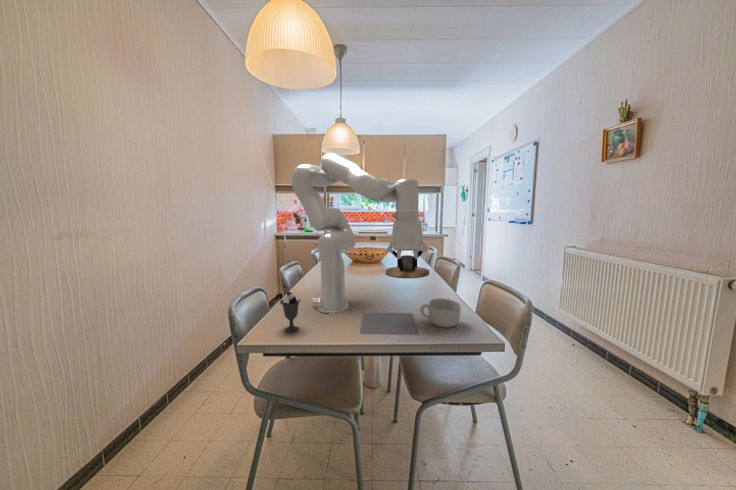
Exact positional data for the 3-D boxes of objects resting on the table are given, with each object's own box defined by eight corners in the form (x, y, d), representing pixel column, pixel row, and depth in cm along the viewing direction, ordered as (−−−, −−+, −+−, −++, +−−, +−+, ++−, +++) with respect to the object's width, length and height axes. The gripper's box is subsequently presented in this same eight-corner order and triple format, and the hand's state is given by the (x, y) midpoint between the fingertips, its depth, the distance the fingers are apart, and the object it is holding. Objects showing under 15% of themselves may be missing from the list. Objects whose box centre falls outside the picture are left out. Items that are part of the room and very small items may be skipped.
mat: (359, 335, 93) (359, 333, 93) (363, 313, 112) (363, 312, 112) (418, 336, 92) (419, 334, 92) (412, 314, 111) (412, 313, 111)
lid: (385, 278, 92) (385, 260, 91) (385, 269, 107) (385, 253, 106) (432, 278, 91) (432, 259, 90) (425, 268, 106) (426, 252, 105)
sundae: (284, 325, 101) (283, 283, 99) (303, 325, 100) (302, 283, 98) (278, 333, 94) (276, 289, 92) (298, 333, 94) (297, 289, 92)
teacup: (456, 319, 106) (457, 298, 105) (463, 332, 95) (464, 308, 94) (418, 318, 107) (418, 297, 106) (420, 330, 97) (421, 307, 96)
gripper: (382, 217, 93) (382, 272, 96) (433, 216, 93) (433, 272, 95) (382, 216, 101) (383, 268, 103) (430, 215, 100) (430, 267, 102)
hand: (407, 269), depth 99 cm, fingers closed on lid, 4 cm apart
